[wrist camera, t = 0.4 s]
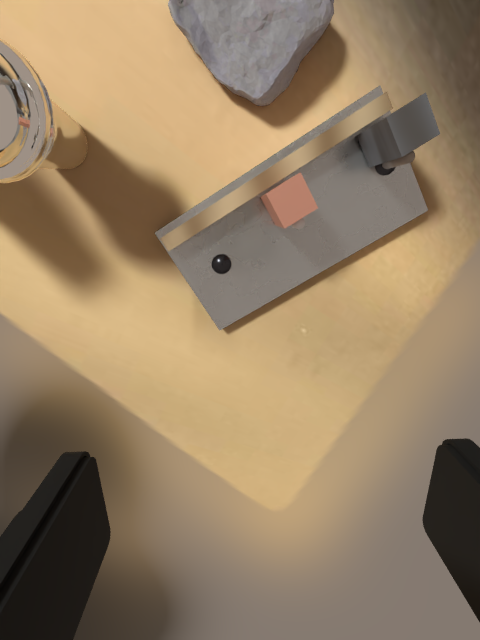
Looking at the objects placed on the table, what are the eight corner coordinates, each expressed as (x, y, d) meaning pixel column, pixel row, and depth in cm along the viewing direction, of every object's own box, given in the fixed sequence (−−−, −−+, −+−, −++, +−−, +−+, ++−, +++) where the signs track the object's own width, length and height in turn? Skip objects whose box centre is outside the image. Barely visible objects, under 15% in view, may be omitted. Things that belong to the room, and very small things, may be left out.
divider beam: (378, 98, 28) (417, 67, 22) (402, 159, 30) (444, 146, 24) (163, 237, 32) (147, 243, 26) (195, 285, 33) (187, 302, 27)
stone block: (264, 124, 32) (339, 15, 27) (260, 119, 27) (349, -12, 23) (164, 33, 29) (229, -101, 25) (143, 11, 25) (217, -154, 21)
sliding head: (288, 179, 30) (300, 172, 24) (307, 217, 31) (323, 219, 25) (260, 197, 30) (266, 194, 25) (280, 234, 32) (290, 239, 26)
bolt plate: (374, 90, 29) (380, 84, 28) (421, 210, 32) (428, 210, 31) (157, 231, 33) (154, 232, 31) (220, 326, 36) (219, 330, 35)
